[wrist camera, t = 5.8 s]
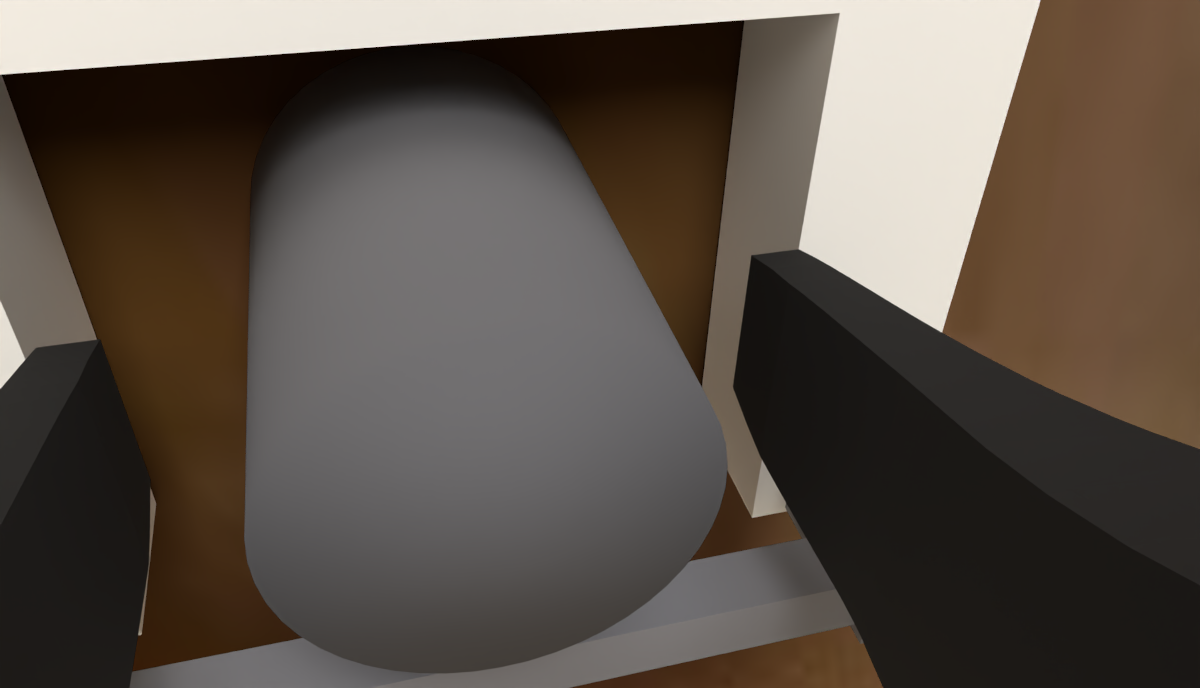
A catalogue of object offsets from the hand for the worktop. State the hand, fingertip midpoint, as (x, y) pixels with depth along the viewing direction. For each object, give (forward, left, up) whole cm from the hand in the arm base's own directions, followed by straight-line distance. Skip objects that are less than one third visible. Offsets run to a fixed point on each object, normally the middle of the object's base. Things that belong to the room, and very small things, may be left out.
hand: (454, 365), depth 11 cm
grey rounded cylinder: (0, 0, -3) cm, 3 cm away
